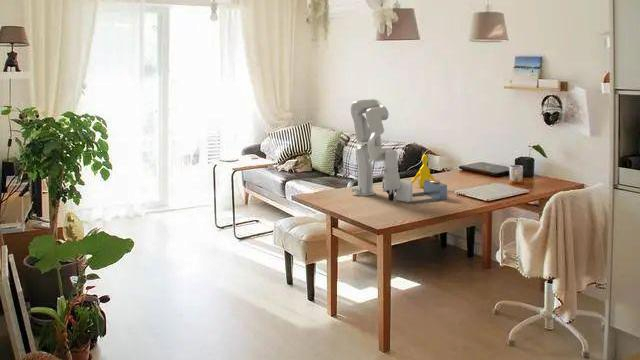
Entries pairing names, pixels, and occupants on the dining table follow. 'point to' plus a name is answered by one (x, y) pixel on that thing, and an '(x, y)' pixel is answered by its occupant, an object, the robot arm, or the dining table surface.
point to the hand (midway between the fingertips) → (391, 200)
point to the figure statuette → (423, 172)
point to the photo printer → (404, 191)
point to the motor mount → (431, 192)
